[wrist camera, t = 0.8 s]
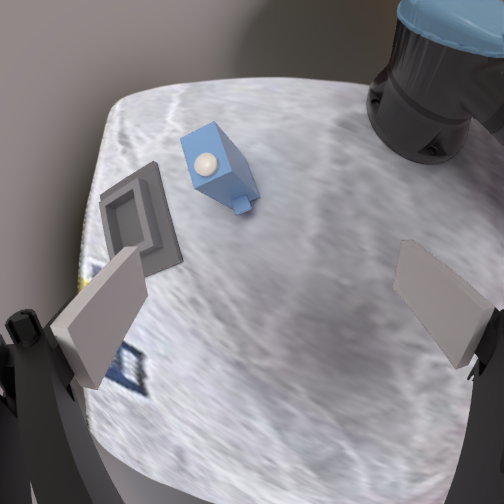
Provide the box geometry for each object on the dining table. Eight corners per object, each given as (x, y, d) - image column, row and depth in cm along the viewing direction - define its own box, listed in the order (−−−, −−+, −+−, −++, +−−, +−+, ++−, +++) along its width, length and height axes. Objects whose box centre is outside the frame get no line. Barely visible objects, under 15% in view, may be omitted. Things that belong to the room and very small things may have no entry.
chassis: (103, 196, 42) (89, 192, 39) (157, 162, 40) (144, 155, 36) (122, 286, 40) (108, 287, 37) (183, 261, 38) (169, 261, 34)
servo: (215, 158, 37) (172, 122, 26) (241, 147, 36) (206, 104, 25) (236, 221, 36) (195, 203, 25) (264, 210, 35) (235, 186, 24)
